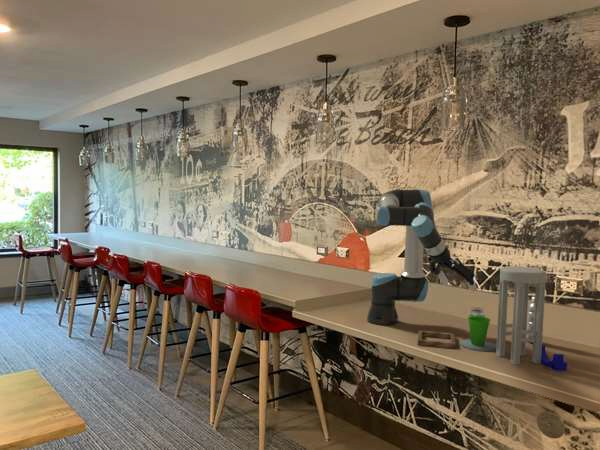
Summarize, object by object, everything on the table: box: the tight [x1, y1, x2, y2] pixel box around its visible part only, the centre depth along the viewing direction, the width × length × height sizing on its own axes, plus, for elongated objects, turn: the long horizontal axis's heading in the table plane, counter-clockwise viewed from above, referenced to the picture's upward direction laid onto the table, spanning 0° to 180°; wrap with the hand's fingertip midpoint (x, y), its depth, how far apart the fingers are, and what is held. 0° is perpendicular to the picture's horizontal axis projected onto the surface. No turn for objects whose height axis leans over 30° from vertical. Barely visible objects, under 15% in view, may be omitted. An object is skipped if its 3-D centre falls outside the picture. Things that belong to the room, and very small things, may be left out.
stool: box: [495, 265, 547, 366], centre depth 188 cm, size 16×16×35 cm
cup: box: [467, 315, 491, 346], centre depth 203 cm, size 9×9×11 cm
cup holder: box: [417, 329, 456, 349], centre depth 209 cm, size 15×15×2 cm
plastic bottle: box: [526, 295, 544, 344], centre depth 209 cm, size 6×7×20 cm
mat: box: [460, 338, 497, 352], centre depth 204 cm, size 14×14×1 cm
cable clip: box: [540, 344, 568, 372], centre depth 182 cm, size 12×4×6 cm, turn 9°
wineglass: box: [468, 306, 486, 317], centre depth 218 cm, size 7×7×12 cm
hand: (459, 286), depth 197 cm, fingers open, 13 cm apart
